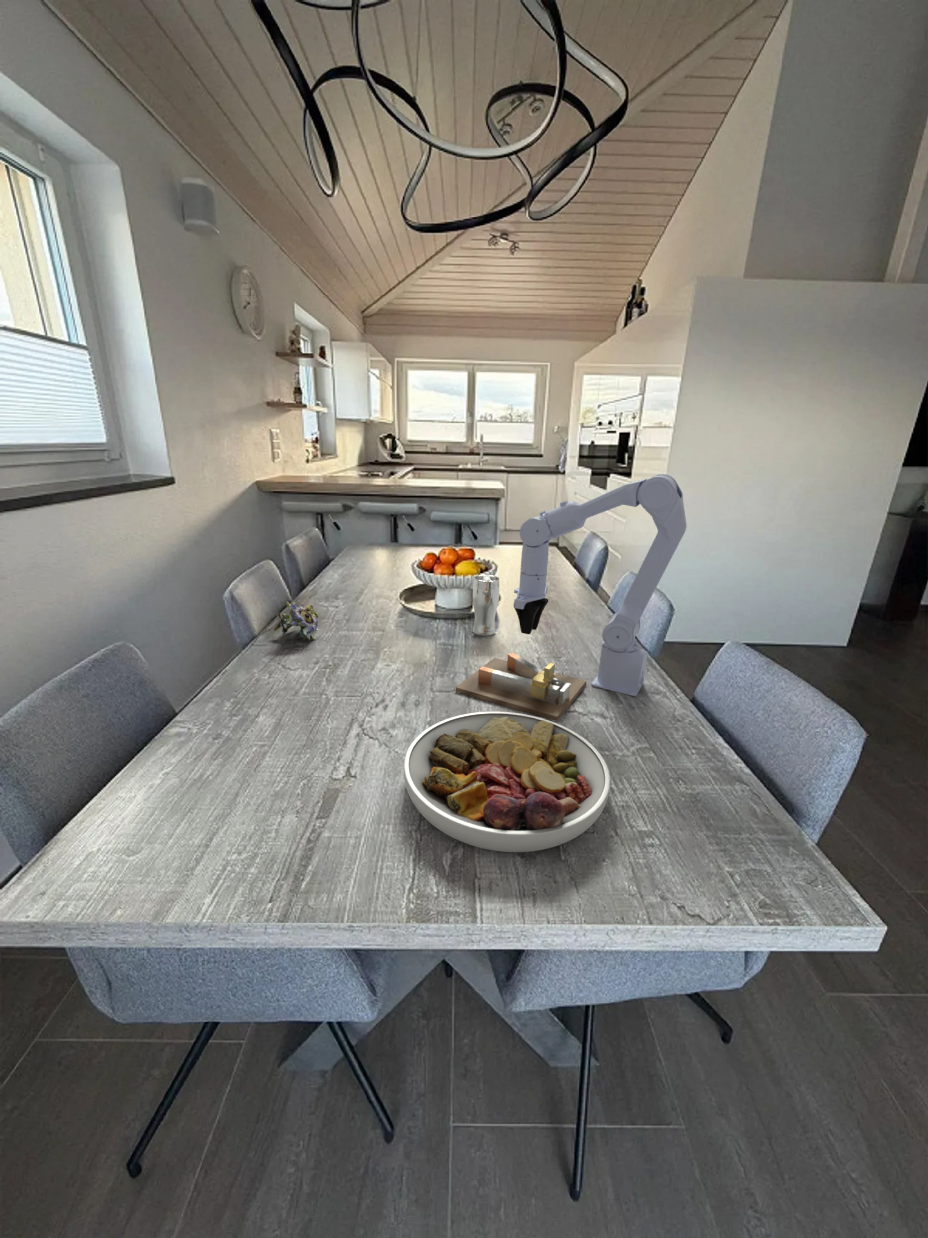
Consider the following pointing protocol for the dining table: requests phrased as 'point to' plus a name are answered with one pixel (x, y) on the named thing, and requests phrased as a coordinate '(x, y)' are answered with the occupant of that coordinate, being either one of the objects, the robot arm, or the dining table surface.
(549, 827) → the bowl
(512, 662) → the hinged tong arm
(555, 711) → the walnut board
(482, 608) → the beer glass
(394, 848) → the dining table surface
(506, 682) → the fixed tong arm
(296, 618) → the passion flower
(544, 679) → the brass ring
